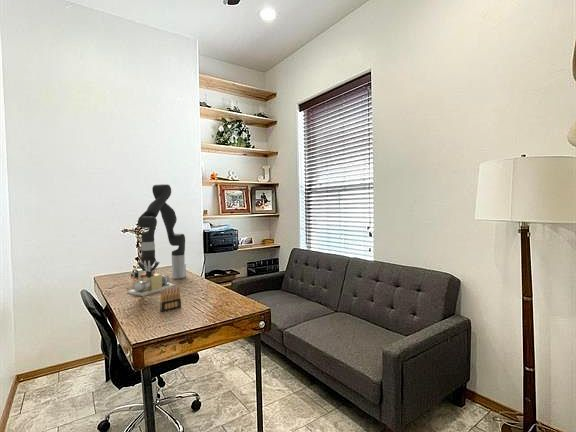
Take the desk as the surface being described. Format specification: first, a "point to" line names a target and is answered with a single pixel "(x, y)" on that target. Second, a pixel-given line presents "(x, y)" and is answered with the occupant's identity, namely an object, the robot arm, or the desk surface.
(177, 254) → the robot arm
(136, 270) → the pneumatic valve
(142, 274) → the valve lever
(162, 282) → the valve stand
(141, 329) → the desk surface
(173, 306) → the ammunition clip
